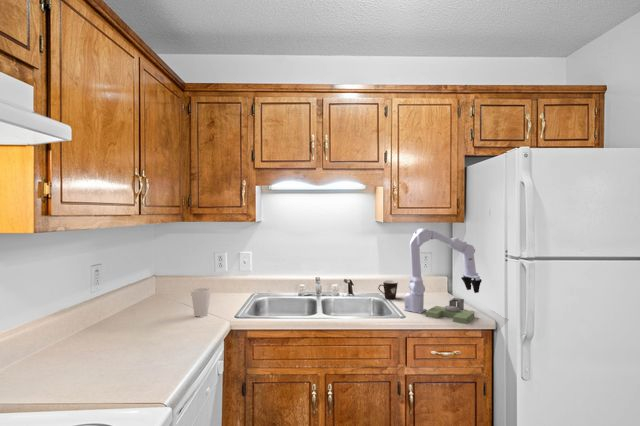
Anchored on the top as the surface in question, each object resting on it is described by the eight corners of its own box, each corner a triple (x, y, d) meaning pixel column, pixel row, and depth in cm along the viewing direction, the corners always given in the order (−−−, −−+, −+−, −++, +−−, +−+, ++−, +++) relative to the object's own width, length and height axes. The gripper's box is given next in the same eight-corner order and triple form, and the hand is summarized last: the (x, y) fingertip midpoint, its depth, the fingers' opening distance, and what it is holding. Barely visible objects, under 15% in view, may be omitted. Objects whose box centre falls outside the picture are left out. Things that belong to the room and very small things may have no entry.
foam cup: (201, 311, 205) (201, 287, 204) (214, 314, 200) (214, 289, 200) (187, 316, 197) (187, 290, 196) (200, 319, 192) (199, 292, 192)
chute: (449, 311, 208) (449, 300, 208) (454, 308, 214) (454, 297, 214) (458, 313, 205) (458, 302, 205) (463, 310, 211) (463, 299, 211)
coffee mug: (396, 296, 240) (396, 280, 240) (398, 300, 232) (398, 283, 231) (377, 296, 241) (377, 280, 241) (378, 299, 233) (378, 283, 233)
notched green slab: (425, 316, 199) (425, 308, 199) (435, 310, 210) (436, 302, 210) (465, 323, 187) (465, 315, 187) (474, 317, 198) (474, 309, 198)
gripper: (484, 266, 203) (487, 292, 204) (469, 263, 218) (472, 287, 218) (471, 269, 202) (474, 295, 203) (457, 265, 217) (460, 289, 217)
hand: (472, 291), depth 210 cm, fingers open, 7 cm apart
